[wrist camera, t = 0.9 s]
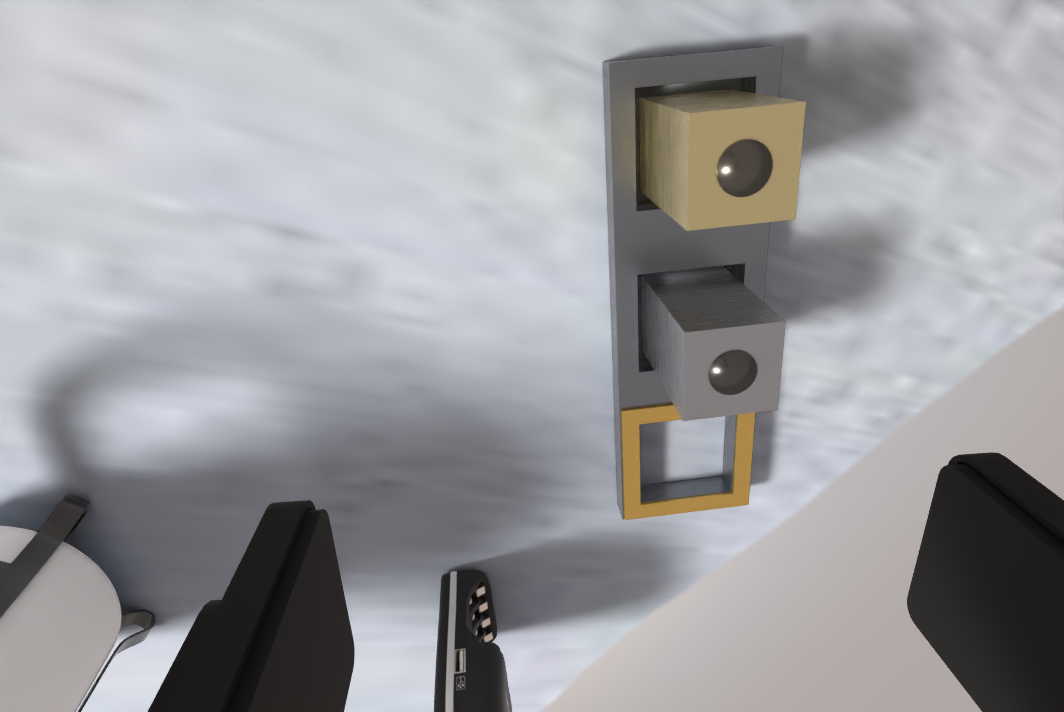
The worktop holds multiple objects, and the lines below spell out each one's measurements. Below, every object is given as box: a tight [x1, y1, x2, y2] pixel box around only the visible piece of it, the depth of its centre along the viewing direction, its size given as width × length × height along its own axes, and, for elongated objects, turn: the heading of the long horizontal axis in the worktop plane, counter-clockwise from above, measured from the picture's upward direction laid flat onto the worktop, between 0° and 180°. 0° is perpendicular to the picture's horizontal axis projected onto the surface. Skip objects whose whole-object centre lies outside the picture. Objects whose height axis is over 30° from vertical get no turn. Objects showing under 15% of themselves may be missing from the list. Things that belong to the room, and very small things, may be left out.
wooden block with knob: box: [639, 89, 806, 231], centre depth 29 cm, size 4×4×8 cm
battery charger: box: [434, 571, 512, 712], centre depth 40 cm, size 7×4×11 cm, turn 5°
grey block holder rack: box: [603, 46, 783, 520], centre depth 36 cm, size 26×8×2 cm, turn 5°
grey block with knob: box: [641, 266, 786, 421], centre depth 33 cm, size 4×4×8 cm
